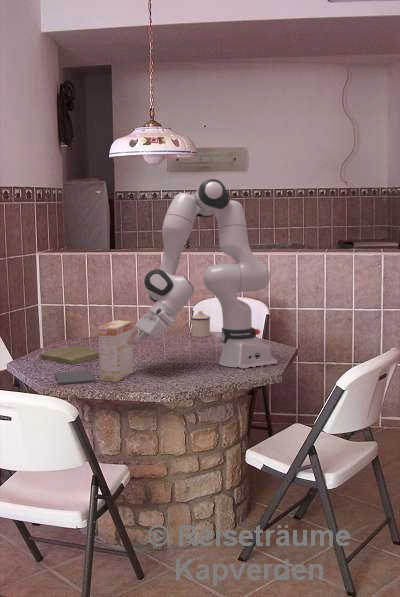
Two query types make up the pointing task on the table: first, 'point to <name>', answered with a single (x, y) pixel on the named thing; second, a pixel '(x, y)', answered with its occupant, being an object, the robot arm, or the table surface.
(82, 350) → the decorative tile
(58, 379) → the mat
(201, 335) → the teacup with lid
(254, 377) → the table surface
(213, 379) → the table surface
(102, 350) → the coffeecake box
